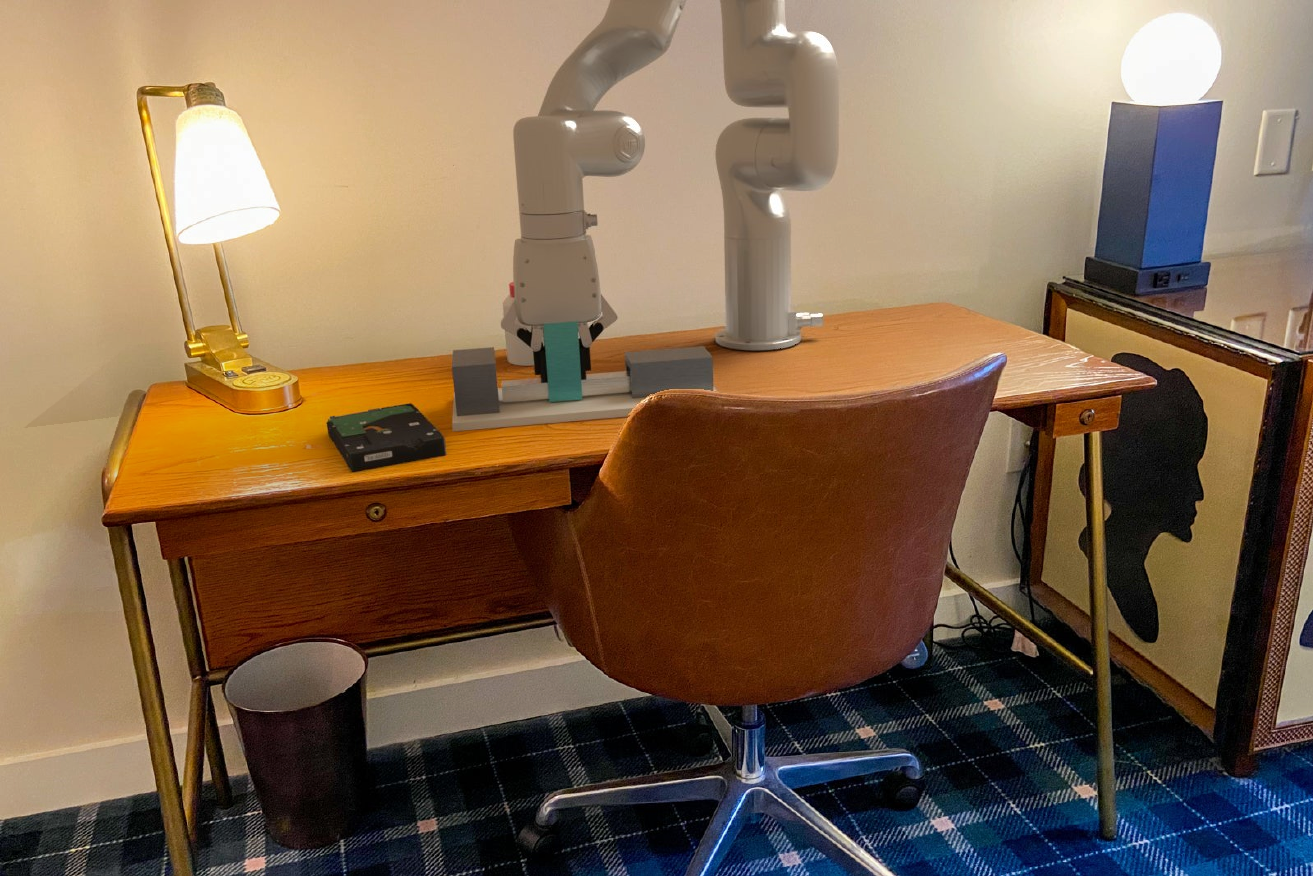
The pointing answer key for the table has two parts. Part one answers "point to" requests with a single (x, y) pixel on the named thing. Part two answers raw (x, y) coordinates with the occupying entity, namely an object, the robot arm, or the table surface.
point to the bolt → (564, 372)
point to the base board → (548, 411)
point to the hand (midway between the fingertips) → (563, 377)
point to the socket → (475, 381)
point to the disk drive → (385, 437)
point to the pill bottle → (517, 339)
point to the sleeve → (669, 370)
